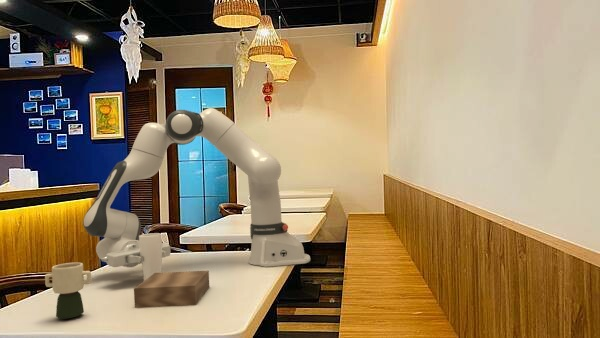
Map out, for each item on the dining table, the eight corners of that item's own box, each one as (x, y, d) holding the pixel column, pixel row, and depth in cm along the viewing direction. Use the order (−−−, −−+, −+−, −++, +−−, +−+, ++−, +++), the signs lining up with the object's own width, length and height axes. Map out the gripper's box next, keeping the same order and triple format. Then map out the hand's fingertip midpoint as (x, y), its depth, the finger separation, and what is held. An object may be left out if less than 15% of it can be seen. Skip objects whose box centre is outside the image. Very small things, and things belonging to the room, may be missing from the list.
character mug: (97, 311, 126) (94, 260, 126) (88, 319, 119) (85, 266, 119) (52, 314, 124) (50, 263, 124) (41, 323, 117) (38, 269, 117)
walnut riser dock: (209, 287, 145) (208, 270, 145) (195, 304, 127) (194, 285, 127) (155, 289, 145) (155, 272, 145) (134, 307, 127) (133, 288, 127)
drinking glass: (157, 285, 148) (154, 236, 147) (137, 285, 149) (134, 236, 149) (168, 280, 154) (165, 232, 154) (148, 280, 156) (145, 233, 155)
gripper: (98, 249, 152) (121, 252, 143) (155, 238, 167) (179, 241, 158) (99, 269, 152) (122, 274, 143) (156, 257, 168) (180, 261, 159)
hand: (153, 257), depth 151 cm, fingers closed on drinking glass, 6 cm apart
